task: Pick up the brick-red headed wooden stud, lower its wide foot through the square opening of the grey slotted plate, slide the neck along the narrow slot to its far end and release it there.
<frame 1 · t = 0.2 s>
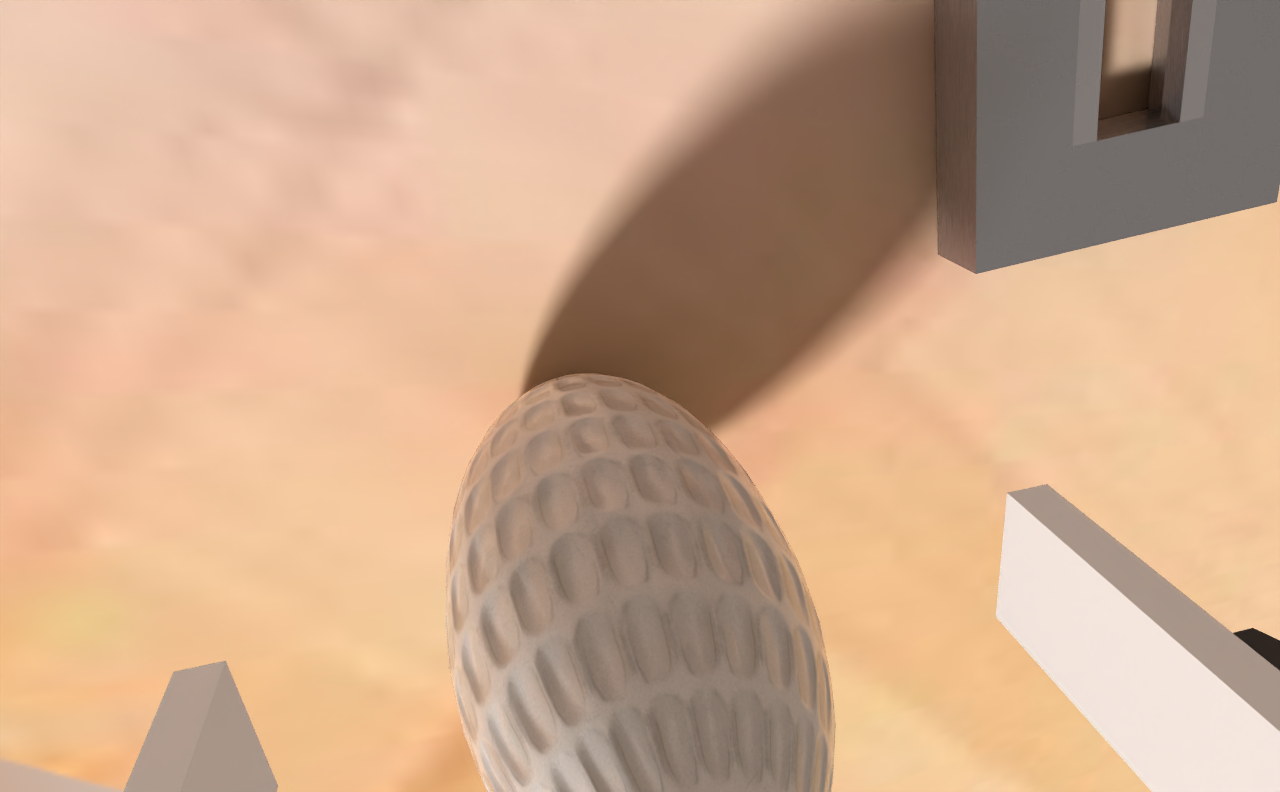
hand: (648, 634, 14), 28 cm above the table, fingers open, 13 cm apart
vase: (574, 432, 44), on the table
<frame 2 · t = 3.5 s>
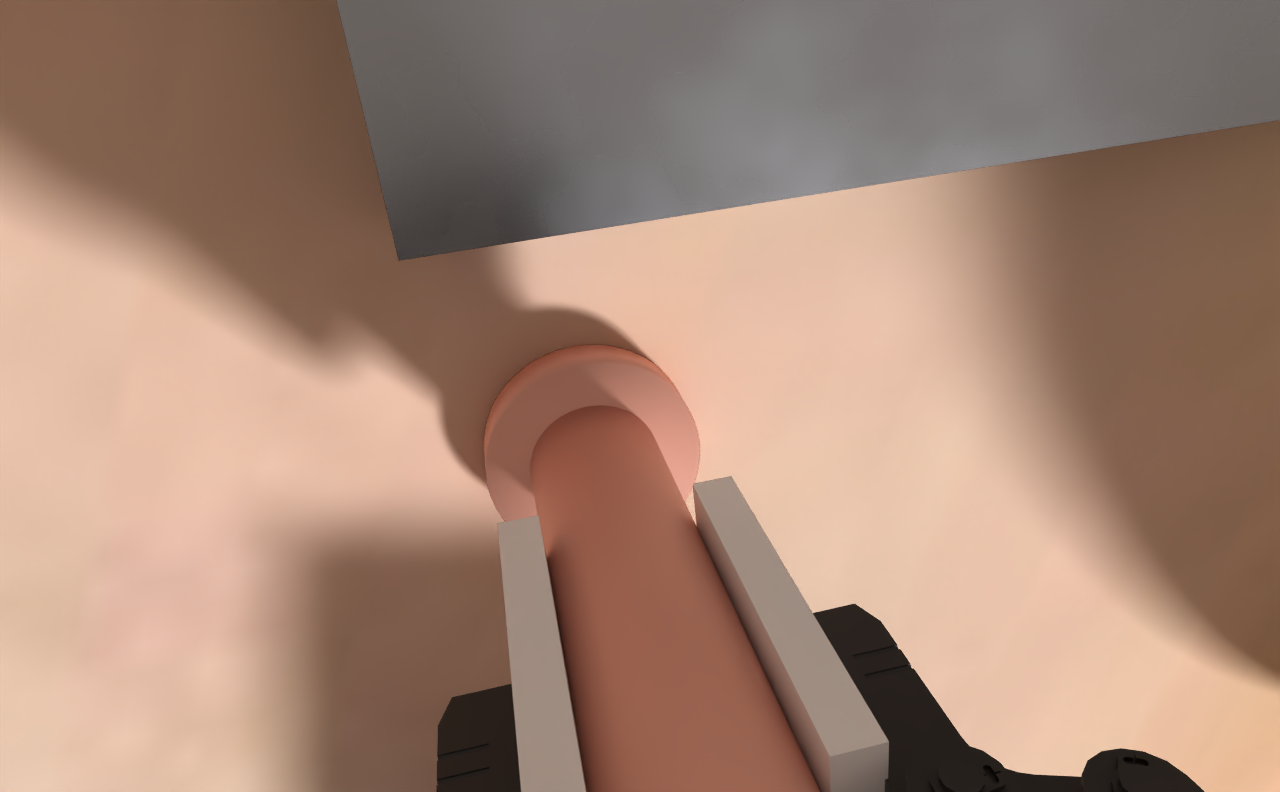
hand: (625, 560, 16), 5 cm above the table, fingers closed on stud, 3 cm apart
stud: (588, 440, 21), on the table, touching gripper
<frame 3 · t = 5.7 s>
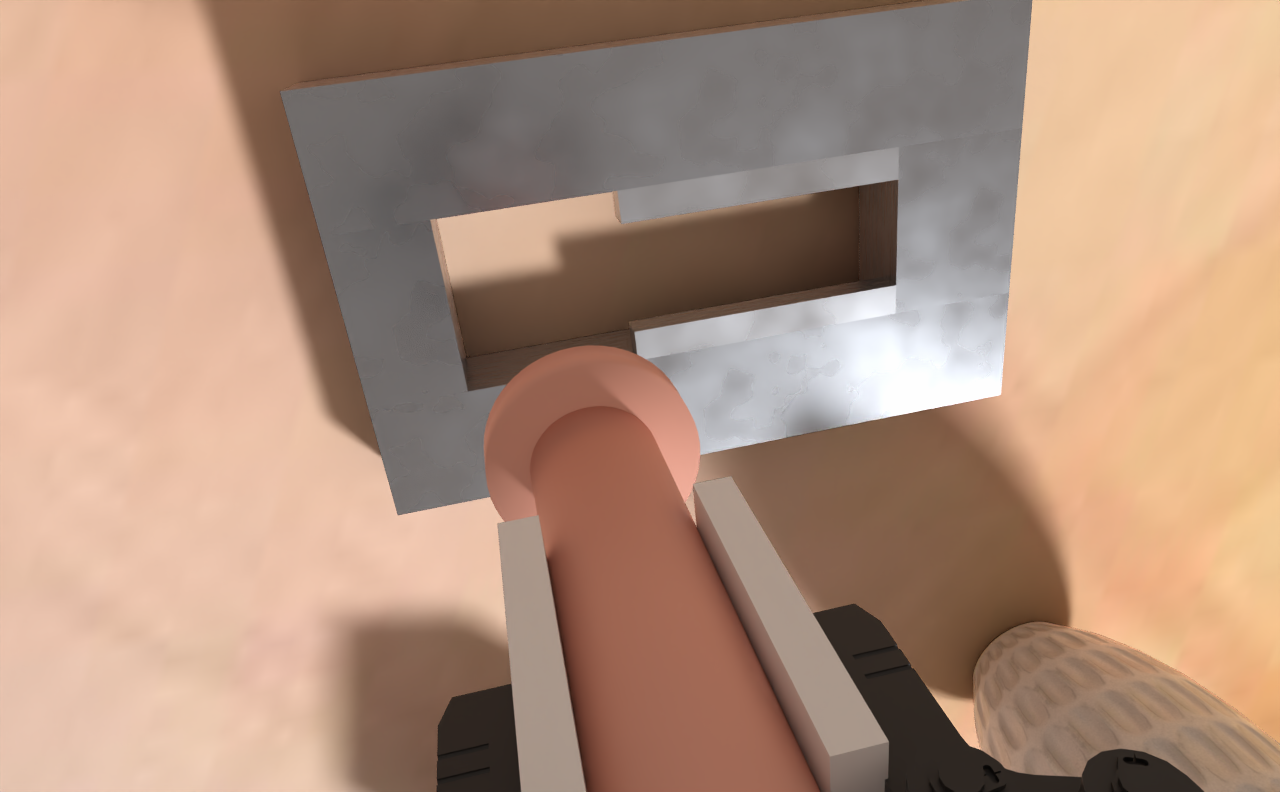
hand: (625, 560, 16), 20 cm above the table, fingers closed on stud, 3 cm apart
vase: (1018, 660, 50), on the table
grey slotted plate: (676, 244, 35), on the table
stud: (588, 441, 21), point 15 cm above the table, touching gripper
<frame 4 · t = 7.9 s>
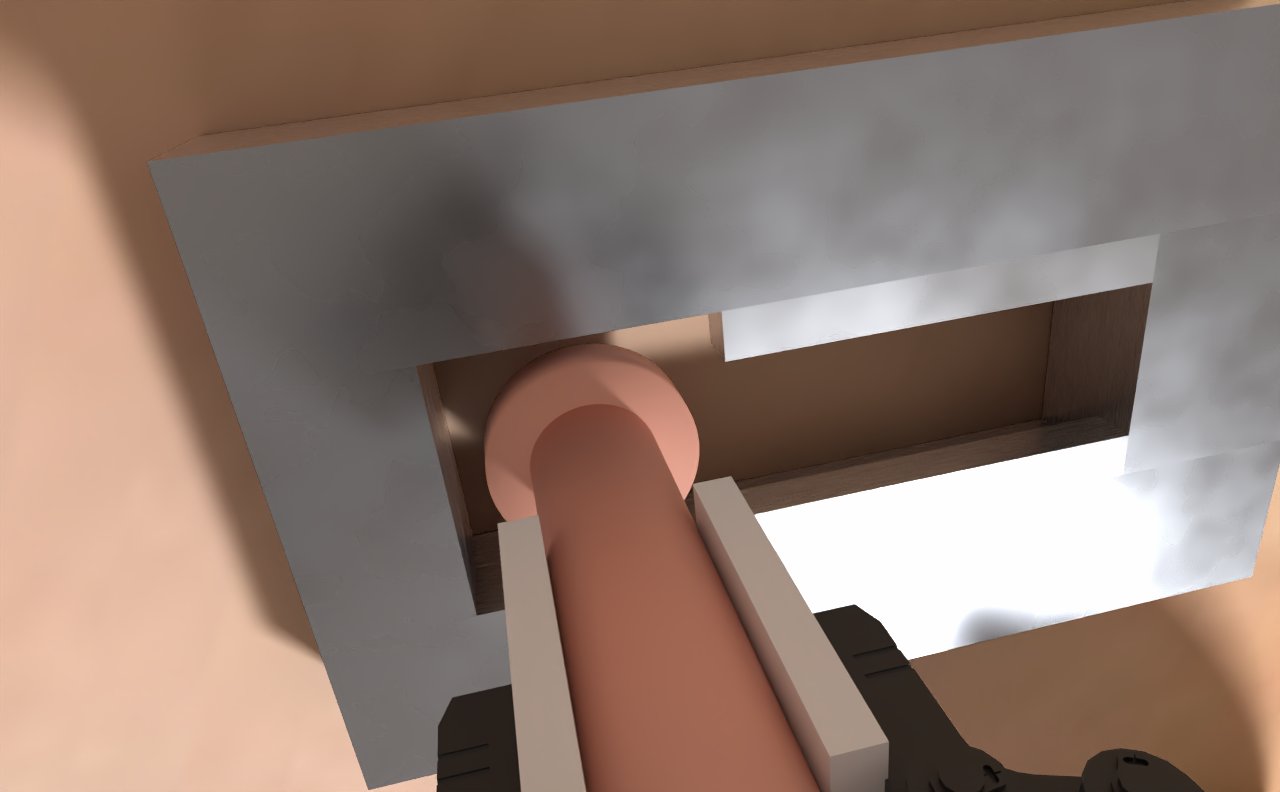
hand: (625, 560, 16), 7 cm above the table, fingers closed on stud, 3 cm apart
grey slotted plate: (788, 367, 24), on the table
stud: (587, 439, 21), point 2 cm above the table, touching gripper
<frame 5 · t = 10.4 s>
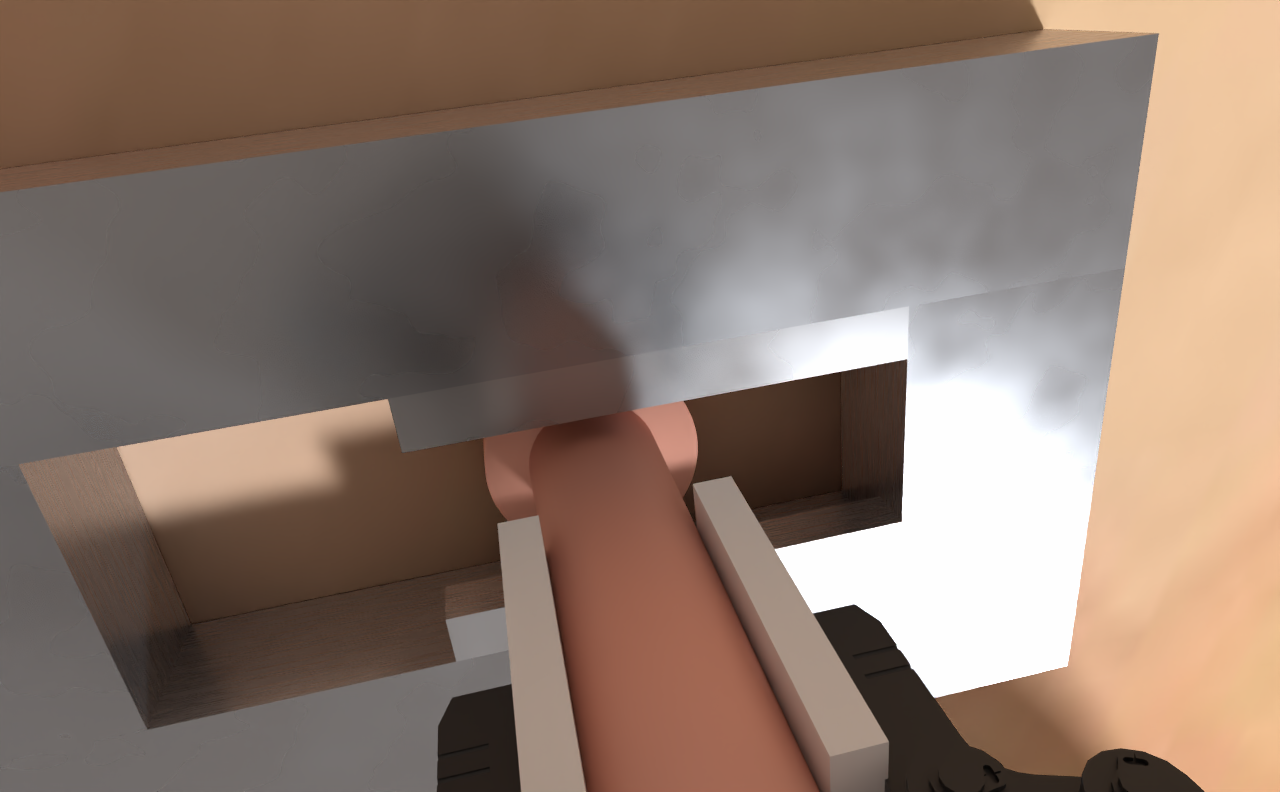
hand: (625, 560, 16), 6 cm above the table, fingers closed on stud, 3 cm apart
grey slotted plate: (538, 440, 21), on the table
stud: (586, 437, 21), resting in grey slotted plate, touching gripper
when the fingers open (6 cm above the table, at t = 12.4 s): stud stays where it is, resting in grey slotted plate.
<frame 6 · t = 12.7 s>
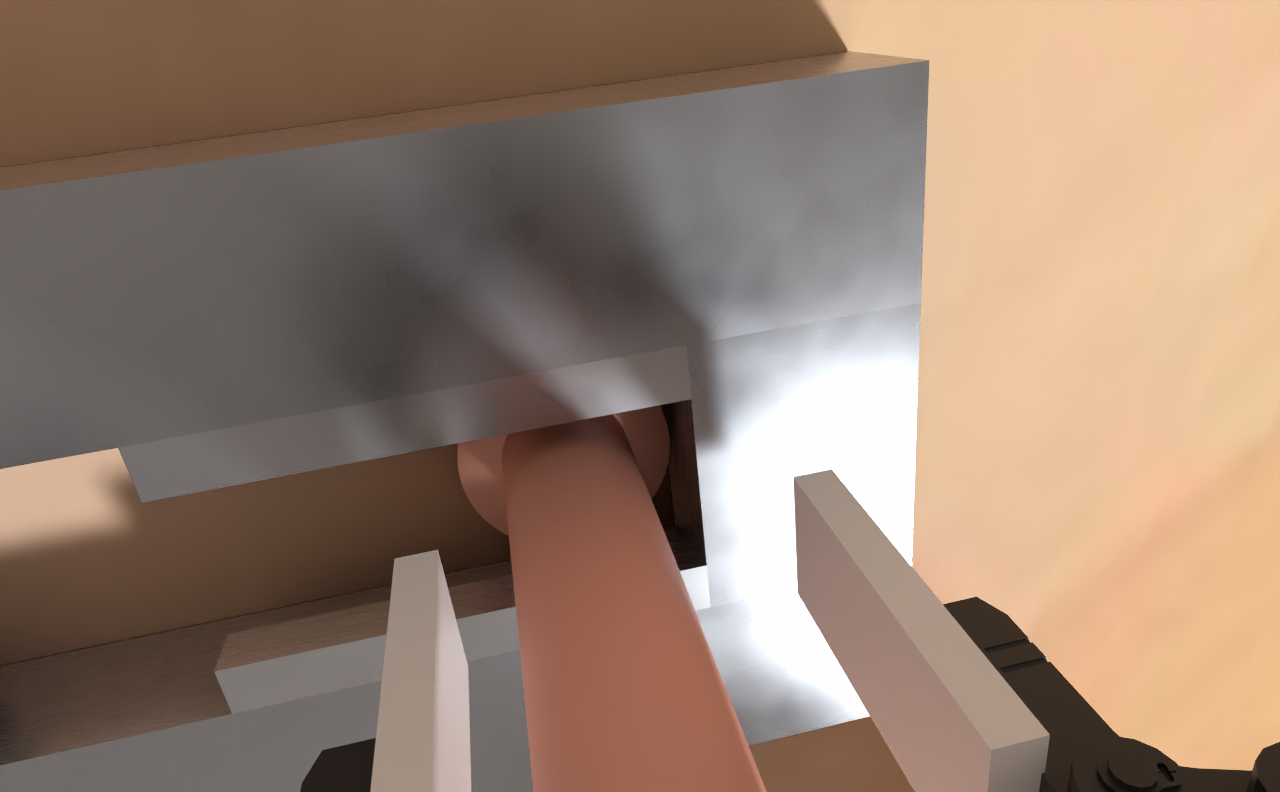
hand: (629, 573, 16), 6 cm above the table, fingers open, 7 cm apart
grey slotted plate: (339, 478, 20), on the table
stud: (560, 434, 21), resting in grey slotted plate
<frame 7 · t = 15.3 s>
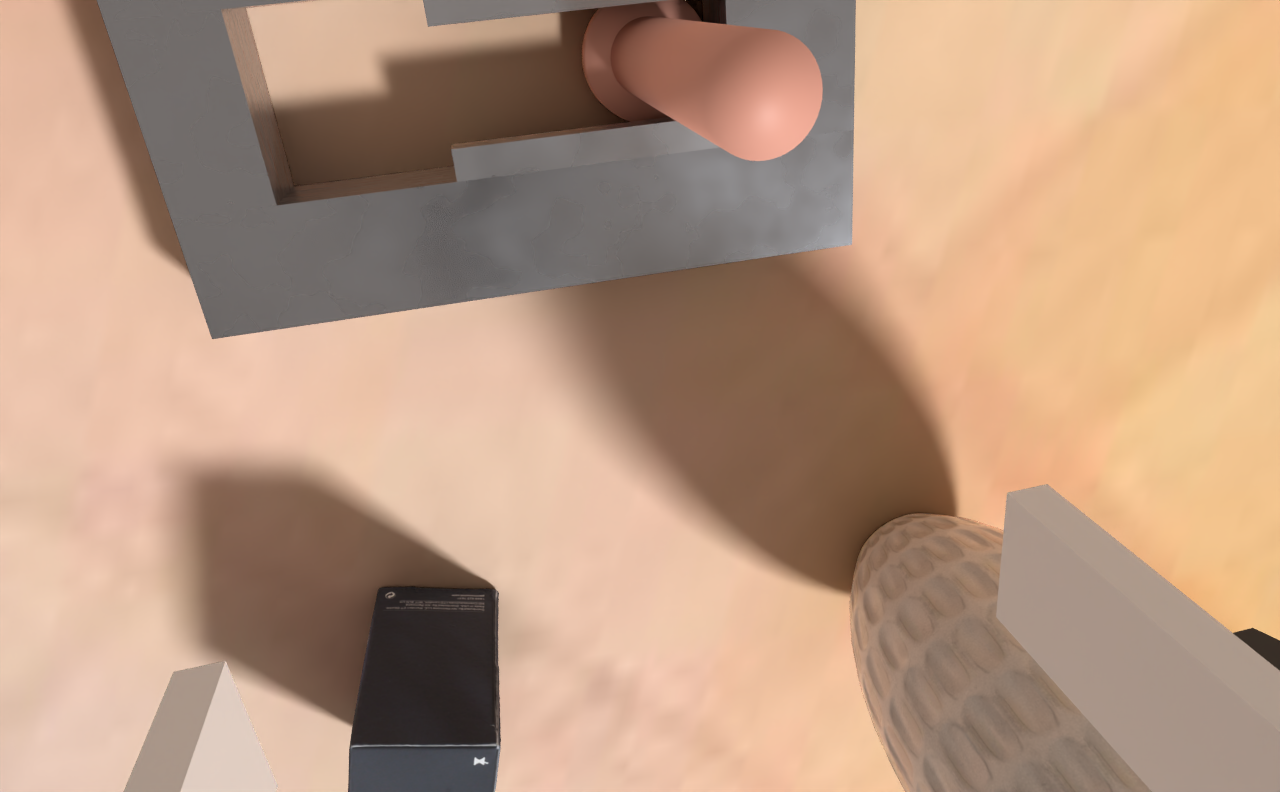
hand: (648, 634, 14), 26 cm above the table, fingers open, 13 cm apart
small box: (430, 661, 46), on the table
vase: (904, 555, 49), on the table
grey slotted plate: (510, 72, 34), on the table
stud: (642, 55, 35), resting in grey slotted plate
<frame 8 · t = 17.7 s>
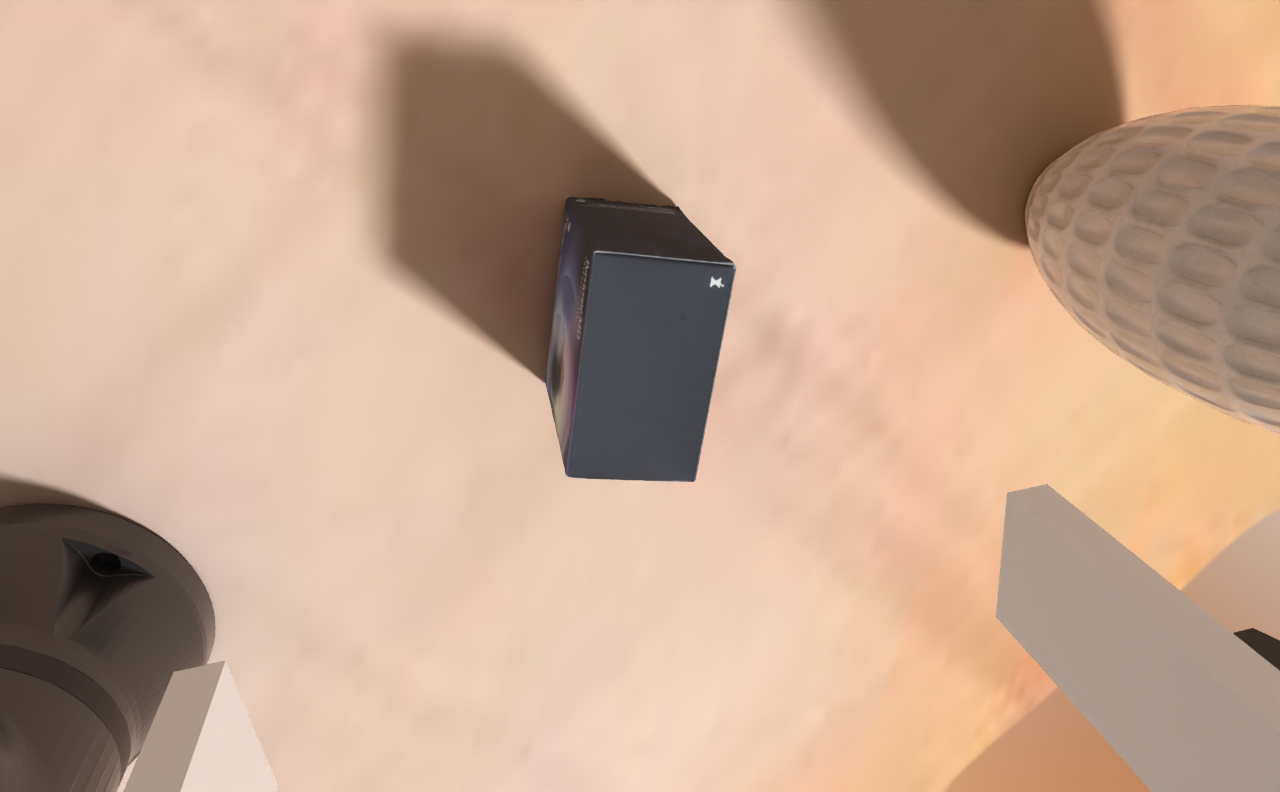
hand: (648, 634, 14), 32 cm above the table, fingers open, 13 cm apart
small box: (608, 297, 46), on the table
vase: (1070, 202, 49), on the table
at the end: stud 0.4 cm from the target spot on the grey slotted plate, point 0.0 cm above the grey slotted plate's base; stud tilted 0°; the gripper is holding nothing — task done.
